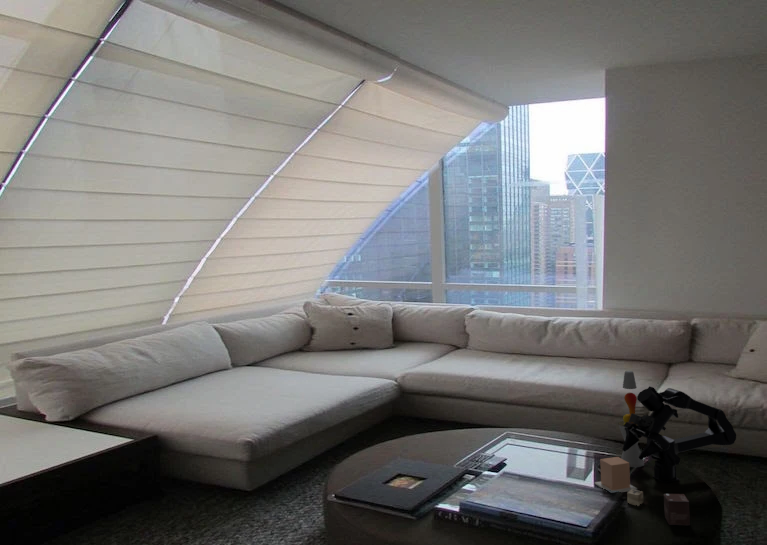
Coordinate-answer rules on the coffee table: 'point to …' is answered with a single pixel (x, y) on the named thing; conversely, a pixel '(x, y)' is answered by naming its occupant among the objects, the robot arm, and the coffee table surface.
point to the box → (676, 509)
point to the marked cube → (635, 497)
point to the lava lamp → (630, 399)
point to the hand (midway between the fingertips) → (631, 454)
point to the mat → (617, 489)
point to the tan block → (615, 473)
